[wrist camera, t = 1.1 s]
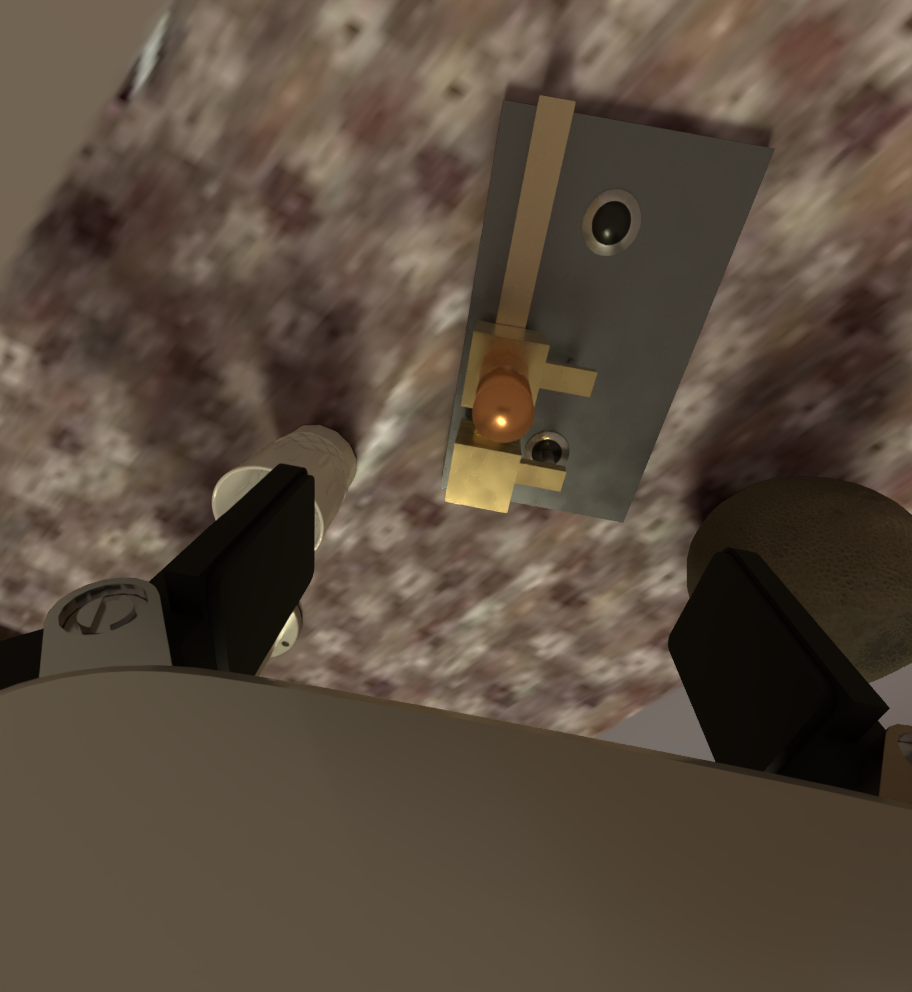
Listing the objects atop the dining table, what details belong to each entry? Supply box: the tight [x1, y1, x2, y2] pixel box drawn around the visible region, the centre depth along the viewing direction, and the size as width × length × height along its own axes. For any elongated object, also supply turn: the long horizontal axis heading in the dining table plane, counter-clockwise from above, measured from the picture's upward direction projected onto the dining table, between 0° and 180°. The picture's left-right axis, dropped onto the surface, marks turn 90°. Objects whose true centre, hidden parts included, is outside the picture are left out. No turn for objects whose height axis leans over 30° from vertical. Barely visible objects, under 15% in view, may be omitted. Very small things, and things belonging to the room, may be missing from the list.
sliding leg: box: [461, 320, 598, 443], centre depth 26 cm, size 4×8×14 cm, turn 81°
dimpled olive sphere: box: [687, 476, 912, 683], centre depth 32 cm, size 14×14×15 cm
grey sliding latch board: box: [441, 95, 775, 522], centre depth 29 cm, size 26×16×8 cm, turn 171°
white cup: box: [212, 425, 356, 550], centre depth 35 cm, size 8×8×10 cm
